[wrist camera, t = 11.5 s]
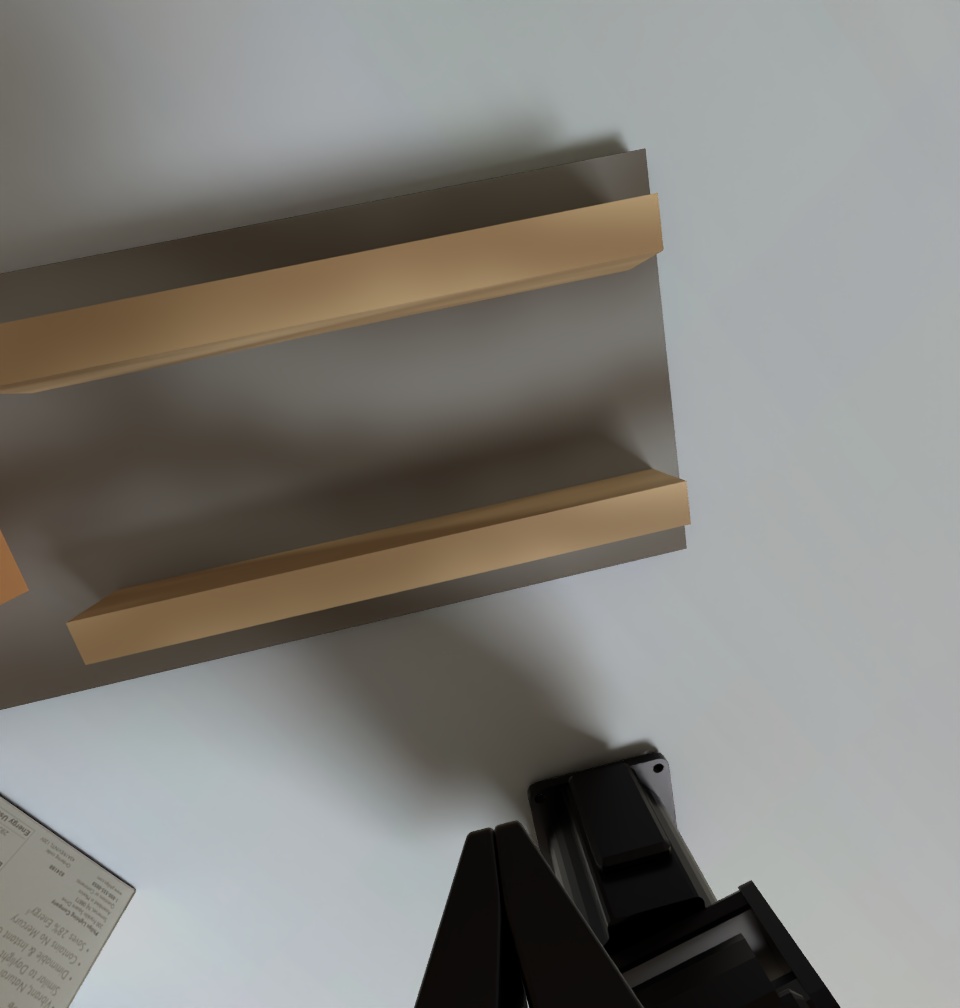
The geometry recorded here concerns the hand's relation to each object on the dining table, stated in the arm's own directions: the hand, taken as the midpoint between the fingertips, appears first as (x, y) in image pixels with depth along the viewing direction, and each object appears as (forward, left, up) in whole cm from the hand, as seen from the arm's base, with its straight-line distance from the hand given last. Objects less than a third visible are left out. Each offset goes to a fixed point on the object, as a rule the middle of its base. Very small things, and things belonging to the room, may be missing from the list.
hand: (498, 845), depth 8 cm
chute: (+6, +8, -12) cm, 15 cm away
